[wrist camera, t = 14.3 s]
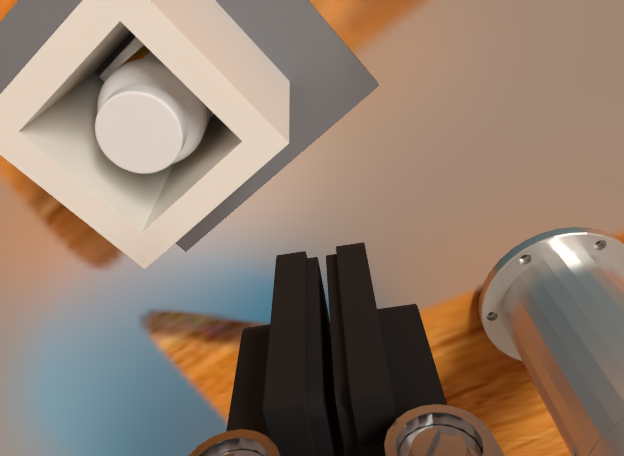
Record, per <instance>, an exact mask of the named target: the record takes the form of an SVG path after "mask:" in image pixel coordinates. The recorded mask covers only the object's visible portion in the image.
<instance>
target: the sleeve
mask: <svg viewBox="0 0 624 456" xmlns="http://www.w3.org/2000/svg"><path fill="white" fill-rule="evenodd" d="M131 32H132V33H133V34H134V35H135V36H136V37H137V38H138V39H139V40H140V41H141V42H142V43H143V44H144V45H145V46H146V47H147V48H148V49H149V50H150V51H151V52H152V53H153V54H154V55H155V56H156V57H157V58H158V59H159V60H160V61H161V62H162V63H163V64H164V65H165V66H166V67H167V68H168V69H169V70H170V71H171V72H172V73H173V74H174V75H176V76H177V77H178V78H179V79H180V80H181V81H182V82H183V83H184V84H185V85H186V86H187V87H188V88H189V89H190V90H191V91H192V92H193V93H194V94H195V95H196V96H197V97H198V98H199V99H200V100H201V101H202V102H203V103H204V104H205V105H206V106H207V107H208V108H209V109H210V110H211V111H212V112H213V113H214V114H215V115H216V116H217V117H216V118H214V119H213V120H212V121H211V122H210V123H209V124H208V125H207V128H206V130H205V133H204V135H203V138H202V140H201V141H200V143H199V145H198V146H197V148H196V149H195V150H194V151H193V152H192V153H191V154H190V155H189V156H187V157H186V158H184V159H183V160H181V161H179V162H176V163H173V164H171V165H169V166H168V167H167V168H165V169H163V170H161V171H158V172H155V173H148V174H140V173H134V172H130V171H127V170H125V169H123V168H121V167H119V166H117V165H116V164H114V163H113V162H112V161H111V160H110V159H109V158H108V157H107V156H106V155H105V154H104V153H103V151H102V150H101V148H100V146H99V144H98V142H97V138H96V134H95V120H96V116H97V113H98V112H97V104H98V97H99V94H100V91H101V88H102V86H103V84H104V83H105V82H104V81H103V80H102V79H101V78H100V77H99V76H98V75H97V74H96V73H95V71H96V70H97V69H98V68H99V67H100V65H101V64H102V63H103V62H104V61H105V60H106V59H107V58H108V57H109V56H110V55H111V54H112V53H113V52H114V50H115V49H116V48H117V47H118V46H119V45H120V44H121V43H122V42H123V41H124V40H125V39H126V38H127V37H128V35H129V34H130V33H131ZM289 99H290V81H289V80H288V79H287V78H286V77H285V76H284V75H283V73H282V72H281V71H280V70H279V69H278V68H277V67H276V66H275V65H274V64H273V63H272V62H271V60H270V59H269V58H268V57H267V56H266V55H265V54H264V53H263V52H262V51H261V50H260V48H259V47H258V46H257V45H256V44H255V43H254V42H253V41H252V40H251V39H250V38H249V36H248V35H247V34H246V33H245V32H244V31H243V30H242V29H241V28H240V27H239V26H238V25H237V23H236V22H235V21H234V20H233V19H232V18H231V17H230V16H229V15H228V14H227V13H226V11H225V10H224V9H223V8H222V7H221V6H220V5H219V4H218V3H217V2H216V1H215V0H82V1H81V3H80V4H79V5H78V6H77V7H76V8H75V9H74V11H73V12H72V13H71V14H70V15H69V16H68V17H67V19H66V20H65V21H64V22H63V23H62V24H61V25H60V27H59V28H58V29H57V30H56V31H55V32H54V33H53V35H52V36H51V37H50V38H49V39H48V40H47V41H46V43H45V44H44V45H43V46H42V47H41V48H40V49H39V51H38V52H37V53H36V54H35V55H34V56H33V57H32V59H31V60H30V61H29V62H28V63H27V64H26V65H25V67H24V68H23V69H22V70H21V71H20V72H19V73H18V75H17V76H16V77H15V78H14V79H13V80H12V81H11V83H10V84H9V85H8V86H7V87H6V88H5V89H4V91H3V92H2V93H1V94H0V155H1V156H2V157H4V158H5V159H6V160H8V161H9V162H10V163H11V164H13V165H14V166H15V167H16V168H18V169H19V170H20V171H21V172H23V173H24V174H25V175H26V176H28V177H29V178H30V179H31V180H33V181H34V182H35V183H36V184H38V185H39V186H40V187H41V188H43V189H44V190H45V191H46V192H48V193H49V194H50V195H52V196H53V197H54V198H55V199H57V200H58V201H59V202H60V203H62V204H63V205H64V206H65V207H67V208H68V209H69V210H70V211H72V212H73V213H74V214H75V215H77V216H78V217H79V218H80V219H82V220H83V221H84V222H85V223H87V224H88V225H89V226H91V227H92V228H93V229H94V230H96V231H97V232H98V233H99V234H101V235H102V236H103V237H104V238H106V239H107V240H108V241H109V242H111V243H112V244H113V245H114V246H116V247H117V248H118V249H119V250H121V251H122V252H123V253H124V254H126V255H127V256H128V257H129V258H131V259H132V260H133V261H135V262H136V263H137V264H138V265H140V266H141V267H142V268H143V269H146V268H147V267H148V266H149V265H151V264H152V263H153V262H154V261H155V260H156V259H157V258H158V257H160V256H161V255H162V254H163V253H164V252H165V251H167V250H168V249H169V248H170V247H171V246H172V245H173V244H174V243H176V242H177V241H178V240H179V239H180V238H181V237H183V236H184V235H185V234H186V233H187V232H188V231H189V230H191V229H192V228H193V227H194V226H195V225H196V224H197V223H199V222H200V221H201V220H202V219H203V218H204V217H205V216H207V215H208V214H209V213H210V212H211V211H212V210H213V209H215V208H216V207H217V206H218V205H219V204H220V203H221V202H223V201H224V200H225V199H226V198H227V197H228V196H229V195H231V194H232V193H233V192H234V191H235V190H236V189H237V188H239V187H240V186H241V185H242V184H243V183H244V182H245V181H247V180H248V179H249V178H250V177H251V176H252V175H253V174H255V173H256V172H257V171H258V170H259V169H260V168H261V167H263V166H264V165H265V164H266V163H267V162H268V161H269V160H271V159H272V158H273V157H274V156H275V155H276V154H278V153H279V152H280V151H281V150H282V149H283V148H284V147H286V146H287V145H288V144H289Z"/></svg>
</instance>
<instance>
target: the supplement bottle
mask: <svg viewBox="0 0 624 456" xmlns="http://www.w3.org/2000/svg"><path fill="white" fill-rule="evenodd" d="M97 112H98V113H97V116H96V120H95V134H96V138H97V142H98V144H99V146H100V148H101V150H102V151H103V153H104V154H105V155H106V156H107V157H108V158H109V159H110V160H111V161H112V162H113V163H114V164H116V165H117V166H119V167H121V168H123V169H125V170H127V171H130V172H134V173H140V174H148V173H155V172H158V171H161V170H163V169H165V168H167V167H168V166H169V165H171V164H173V163H176V162H179V161H181V160H183V159H184V158H186V157H187V156H189V155H190V154H191V153H192V152H193V151H194V150H195V149H196V148H197V146H198V145H199V143H200V141H201V140H202V138H203V135H204V133H205V130H206V128H207V125H208V122H209V120H210V117H211V115H212V111H211V110H210V109H209V108H208V107H207V106H206V105H205V104H204V103H203V102H202V101H201V100H200V99H199V98H198V97H197V96H196V95H195V94H194V93H193V92H192V91H191V90H190V89H189V88H188V87H187V86H186V85H185V84H184V83H183V82H182V81H181V80H180V79H179V78H178V77H177V76H176V75H174V74H173V73H172V72H171V71H170V70H169V69H168V68H167V67H166V66H165V65H164V64H163V63H162V62H161V61H160V60H159V59H158V58H157V57H156V56H155V55H154V54H153V53H152V52H151V51H150V50H149V49H148V48H147V47H146V46H145V45H144V46H142V47H141V48H140V49H139V50H138V51H137V52H135V53H134V54H133V55H132V56H131V57H130V58H128V59H127V60H126V61H125V62H124V63H123V64H122V65H120V66H119V67H118V68H117V69H116V70H115V71H114V72H113V73H112V74H111V75H110V76H109V77H108V79H107V80H106V81H105V83H104V84H103V86H102V88H101V91H100V94H99V97H98V104H97Z"/></svg>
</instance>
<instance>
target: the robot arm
mask: <svg viewBox="0 0 624 456" xmlns="http://www.w3.org/2000/svg"><path fill="white" fill-rule="evenodd" d="M336 252H337V254H334V255H327V256H326V264H327V280H328V295H329V312H330V321H329V315H328V310H327V304H326V299H325V294H324V288H323V283H322V277H321V272H320V268H319V262H318V258H317V257H314V258H307V255H306V252H297V253H290V254H284V255H278V256H277V258H276V267H275V279H274V290H273V301H272V313H271V323H270V325H263V326H255V327H248V328H245V329H244V330H243V332H242V336H241V343H240V349H239V355H238V362H237V368H236V374H235V381H234V387H233V393H232V399H231V406H230V412H229V418H228V425H227V431H226V432H224V433H221V434H219V435H216V436H213V437H211V438H209V439H208V440H206V441H205V442H203V443H202V444H200V445H199V446H197V447H196V449H195V450H194V451H193V452H192V453H191V454H190V455H189V456H505V455H504V453H503V452H502V450H501V448H500V447H499V445H498V443H497V441H496V440H495V438H494V436H493V435H492V433H491V431H490V430H489V429H488V428H487V426H486V425H485V424H484V423H483V422H482V420H480V419H479V418H478V417H476V416H475V415H473V414H472V413H470V412H469V411H466V410H463V409H460V408H458V407H455V406H450V405H447V403H446V400H445V397H444V393H443V390H442V387H441V383H440V380H439V377H438V373H437V370H436V367H435V363H434V360H433V357H432V353H431V350H430V347H429V343H428V340H427V337H426V333H425V330H424V327H423V323H422V320H421V317H420V313H419V310H418V307H417V305H416V304H411V305H404V306H397V307H390V308H383V309H377V308H376V302H375V297H374V292H373V286H372V281H371V276H370V270H369V266H368V260H367V255H366V249H365V245H364V243H357V244H351V245H343V246H337V247H336ZM479 315H480V321H481V323H482V325H483V328H484V330H485V332H486V334H487V336H488V338H489V339H490V341H491V342H492V343H493V344H494V345H495V346H496V348H497V349H498V350H500V351H501V352H503V353H504V354H506V355H507V356H509V357H512V358H514V359H517V360H519V361H523V363H524V365H525V367H526V369H527V371H528V373H529V375H530V377H531V379H532V380H533V382H534V384H535V386H536V388H537V390H538V392H539V394H540V396H541V398H542V400H543V402H544V404H545V405H546V407H547V409H548V411H549V413H550V415H551V417H552V419H553V421H554V423H555V425H556V427H557V428H558V430H559V432H560V434H561V436H562V438H563V440H564V442H565V444H566V446H567V448H568V450H569V451H570V453H571V455H572V456H624V244H623V243H622V242H621V241H620V240H619V239H617V238H616V237H614V236H612V235H610V234H608V233H606V232H604V231H600V230H595V229H592V228H580V227H571V228H563V229H556V230H553V231H549V232H545V233H542V234H539V235H537V236H535V237H533V238H530V239H528V240H526V241H524V242H523V243H521V244H520V245H518V246H516V247H515V248H513V249H512V250H511V251H510V252H509V253H507V254H506V255H505V256H504V257H503V258H502V259H501V260H500V261H499V262H498V263H497V264H496V265H495V267H494V268H493V269H492V270H491V272H490V273H489V275H488V277H487V279H486V281H485V282H484V284H483V288H482V291H481V294H480V298H479Z"/></svg>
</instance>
